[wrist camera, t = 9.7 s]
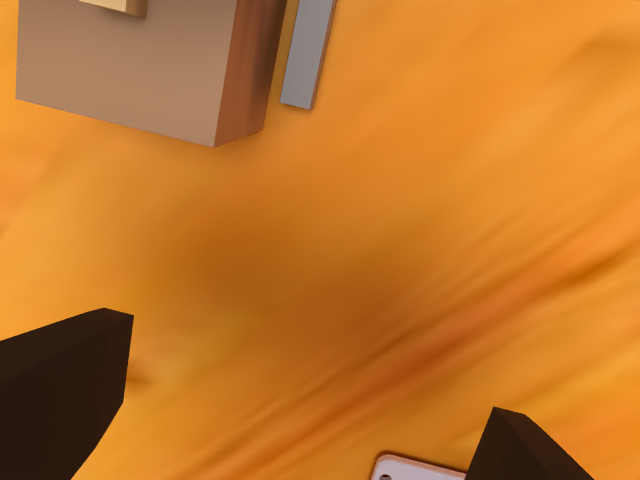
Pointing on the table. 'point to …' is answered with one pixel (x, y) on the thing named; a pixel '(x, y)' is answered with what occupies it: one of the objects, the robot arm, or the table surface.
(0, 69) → the table surface
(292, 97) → the wall board
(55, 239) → the table surface
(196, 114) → the cabinet block
